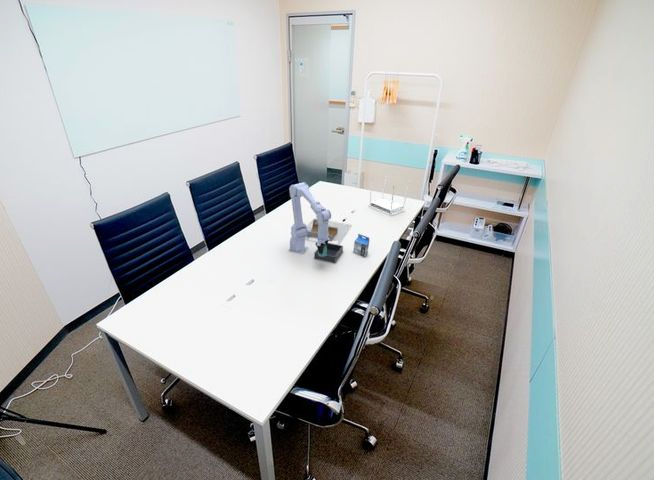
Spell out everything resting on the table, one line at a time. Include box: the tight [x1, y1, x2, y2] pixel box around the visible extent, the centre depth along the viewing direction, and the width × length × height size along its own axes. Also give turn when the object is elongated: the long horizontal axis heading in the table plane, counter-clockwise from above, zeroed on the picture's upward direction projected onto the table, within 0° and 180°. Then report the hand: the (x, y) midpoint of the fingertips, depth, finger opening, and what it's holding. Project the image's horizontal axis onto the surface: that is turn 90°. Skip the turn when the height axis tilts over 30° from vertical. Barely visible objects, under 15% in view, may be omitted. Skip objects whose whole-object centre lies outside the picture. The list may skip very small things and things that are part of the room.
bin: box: [313, 242, 344, 264], centre depth 211 cm, size 14×16×4 cm
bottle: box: [318, 242, 327, 257], centre depth 196 cm, size 5×5×9 cm
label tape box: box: [352, 233, 370, 258], centre depth 211 cm, size 9×4×12 cm, turn 47°
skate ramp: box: [305, 217, 351, 242], centre depth 239 cm, size 29×35×8 cm
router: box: [368, 174, 411, 217], centre depth 271 cm, size 19×25×24 cm
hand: (322, 251), depth 197 cm, fingers closed on bottle, 5 cm apart
